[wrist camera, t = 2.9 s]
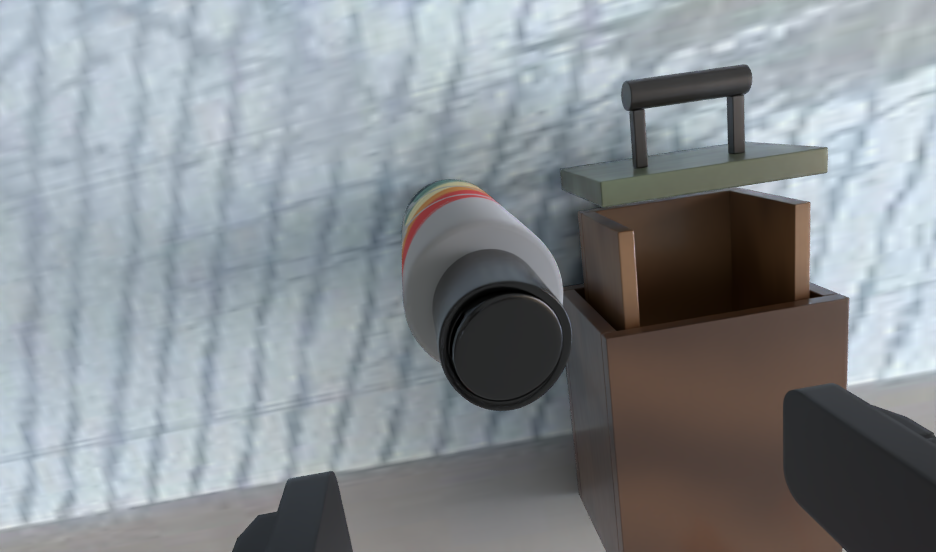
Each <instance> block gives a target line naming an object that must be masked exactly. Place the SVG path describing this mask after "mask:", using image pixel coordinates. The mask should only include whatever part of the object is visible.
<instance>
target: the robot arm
mask: <svg viewBox="0 0 936 552" xmlns="http://www.w3.org/2000/svg"><path fill="white" fill-rule="evenodd" d="M783 471H784V476H785V480H786V483H787V486H788V488H789V491H790V492H791V494H792V496H793V498H794V499H795V501H796V502H797V503H798V504H799V505H800V507H802V508H803V509H804V510H805V511H806V512H807V513H808V514H809V515H810V516H811V517H812V518H813V519H814V520H815V521H816V522H817V523H818V524H819V525H820V526H821V527H822V528H823V529H824V530H825V531H826V532H827V533H828V534H829V535H830V536H831V537H832V538H833V539H834V540H835V541H836V542H838V543H839V544H840V545H841V546H842V547H843V548H844V549H845V550H846V551H847V552H936V437H935V436H934V433H933V432H931V431H929V430H928V429H926V428H924V427H923V426H921V425H919V424H918V423H916V422H914V421H912V420H911V419H909V418H907V417H905V416H902V415H899V414H896V413H894V412H891V411H888V410H885V409H882V408H879V407H876V406H873V405H870V404H869V403H867V402H865V401H864V400H862V399H860V398H859V397H857V396H856V395H854V394H852V393H851V392H849V391H847V390H846V389H844V388H842V387H841V386H839V385H837V384H834V383H828V384H822V385H817V386H811V387H806V388H800V389H794V390H790V391H788V392H787V393H786V395H785V397H784V401H783ZM232 552H353V550H352V545H351V541H350V536H349V532H348V527H347V523H346V518H345V513H344V509H343V504H342V500H341V495H340V491H339V486H338V482H337V478H336V476H335V474H334V472H333V471H329V472H324V473H318V474H313V475H307V476H301V477H296V478H290V479H288V481H287V483H286V486H285V489H284V492H283V495H282V498H281V501H280V504H279V508H278V511H277V512H274V513H268V514H263V515H258V516H257V517H256V518H255V520H254V521H253V522H252V523H251V524H250V525H249V526H248V527H247V528H246V529H245V531H244V532H243V533H242V534H241V535H240V536H239V537H238V538H237V541H236V543H235V546H234V548H233V551H232Z"/></svg>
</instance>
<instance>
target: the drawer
mask: <svg viewBox="0 0 936 552" xmlns="http://www.w3.org/2000/svg"><path fill="white" fill-rule="evenodd" d="M751 85H752V73H751V70H750V68H749V67H748V66H747V65H737V66H730V67H722V68H715V69H708V70H701V71H694V72H687V73H679V74H672V75H665V76H658V77H651V78H644V79H637V80H629V81H625V82H624V83H623V85H622V91H621V97H622V103H623V106H624V108H625V110H627V111H630V112H629V113H630V129H631V144H632V158H631V159H624V160H617V161H610V162H604V163H597V164H590V165H584V166H577V167H570V168H563V169H560V174H561V184H562V190H564V191H567V192H569V193H571V194H573V195H576V196H578V197H580V198H583V199H585V200H587V201H590V202H592V203H594V204H596V205H599V206H601V207H603V208H597V209H590V210H584V211H579V212H578V222H579V234H580V245H581V256H582V267H583V278H584V289H585V301H586V302H587V303H588V304H589V305H590V306H591V307H592V308H593V309H594V310H595V311H596V312H597V313H598V314H600V315H601V316H602V317H603V318H604V319H605V320H606V321H607V322H608V323H609V324H610V325H611V326H612V327H613V328H614V329H615V330H616V331H621V330H627V329H633V328H639V327H644V326H650V325H656V324H662V323H668V322H674V321H680V320H686V319H692V318H698V317H704V316H710V315H716V314H722V313H727V312H733V311H739V310H745V309H751V308H757V307H763V306H769V305H775V304H781V303H787V302H793V301H799V300H804V299H809V291H810V202H806V201H801V200H796V199H791V198H787V197H782V196H777V195H772V194H767V193H762V192H757V191H752V190H747V189H741V188H737V187H739V186H745V185H752V184H758V183H765V182H771V181H778V180H784V179H791V178H797V177H804V176H810V175H817V174H823V173H827V168H828V148H827V147H815V146H800V145H785V144H770V143H755V142H745V124H744V95H743V94H746V93H748V92H749V90H750V88H751ZM722 97H727V122H728V144H725V145H718V146H711V147H704V148H698V149H691V150H684V151H678V152H671V153H664V154H657V155H651V156H647V139H646V122H645V110H644V109H645V108H652V107H659V106H666V105H673V104H680V103H687V102H694V101H701V100H708V99H715V98H722ZM732 187H733V188H732ZM726 188H727V189H726ZM719 189H720V190H719ZM713 190H714V191H713ZM706 191H707V192H706ZM700 192H701V193H700ZM693 193H694V194H693ZM687 194H688V195H687ZM680 195H681V196H680ZM674 196H675V197H674ZM667 197H668V198H667ZM661 198H662V199H661ZM654 199H655V200H654ZM648 200H649V201H648ZM641 201H642V202H641ZM635 202H636V203H635ZM628 203H629V204H628ZM622 204H623V205H622ZM615 205H616V206H615ZM609 206H610V207H609Z"/></svg>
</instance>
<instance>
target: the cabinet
mask: <svg viewBox="0 0 936 552" xmlns="http://www.w3.org/2000/svg"><path fill="white" fill-rule="evenodd" d="M849 301H850V299H849V298H848V297H846V296H843V295H841V294H837V293H835V292H833V291H830V290H828V289H825V288H823V287H820V286H818V285H815V284H813V283H810V291H809V299H804V300H799V301H793V302H787V303H781V304H775V305H769V306H763V307H757V308H751V309H745V310H739V311H733V312H727V313H722V314H716V315H710V316H704V317H698V318H692V319H686V320H680V321H674V322H668V323H662V324H656V325H650V326H644V327H639V328H633V329H627V330H621V331H616V330H615V329H614V328H613V327H612V326H611V325H610V324H609V323H608V322H607V321H606V320H605V319H604V318H603V317H602V316H601V315H600V314H598V313H597V312H596V311H595V310H594V309H593V308H592V307H591V306H590V305H589V304H588V303H587V302H586V301H585V289H584V284H578V285H572V286H566V287H563V304H562V306H563V307H564V309H565V310H566V312H567V314H568V317H569V320H570V323H571V329H572V344H571V350H570V355H569V358H568V361H567V363H566V371H567V381H568V391H569V401H570V411H571V421H572V431H573V441H574V450H575V460H576V470H577V480H578V490H579V495H580V497H581V499H582V502H583V504H584V506H585V508H586V510H587V512H588V514H589V516H590V518H591V521H592V523H593V525H594V527H595V529H596V531H597V533H598V535H599V537H600V539H601V542H602V544H603V546H604V548H605V550H606V552H842V546H841V545H840V544H839V543H838V542H836V541H835V540H834V539H833V538H832V537H831V536H830V535H829V534H828V533H827V532H826V531H825V530H824V529H823V528H822V527H821V526H820V525H819V524H818V523H817V522H816V521H815V520H814V519H813V518H812V517H811V516H810V515H809V514H808V513H807V512H806V511H805V510H804V509H803V508H802V507H800V505H799V504H798V503H797V502H796V501H795V499H794V498H793V496H792V494H791V492H790V491H789V488H788V486H787V483H786V480H785V476H784V471H783V401H784V397H785V395H786V393H787V392H788V391H790V390H794V389H800V388H806V387H811V386H817V385H822V384H828V383H834V384H837V385H839V386H841V387H842V388H844V389H846V390H847V371H848V336H849Z"/></svg>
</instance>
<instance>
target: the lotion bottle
mask: <svg viewBox="0 0 936 552" xmlns="http://www.w3.org/2000/svg"><path fill="white" fill-rule="evenodd" d="M402 289H403V304H404V310H405V316H406V319H407V322H408V325H409V327H410V330H411V332H412V334H413V335H414V337H415V339H416V340H417V342H418V343H419V344H420V346H421V347H422V348H423V349H424V350H425V351H426V352H427V353H428V354H429V355H430V356H431V357H433V358H434V359H435V360H436V361H438V362H440V363H441V365H442V368H443V371H444V373H445V375H446V377H447V379H448V380H449V382H450V384H451V385H452V386H453V387H454V389H455V390H456V391H457V392H458V393H459V394H460V395H461V396H462V397H464V398H465V399H466V400H468V401H469V402H471V403H473V404H474V405H477V406H479V407H481V408H485V409H488V410H494V411H507V410H514V409H517V408H521V407H523V406H526V405H528V404H530V403H532V402H534V401H535V400H537V399H538V398H540V397H541V396H542V395H543V394H545V393H546V392H547V391H548V390H549V389H550V388H551V387H552V386H553V384H554V383H555V382H556V381H557V379H558V378H559V376H560V375H561V373H562V371H563V370H564V368H565V366H566V363H567V361H568V358H569V355H570V350H571V344H572V329H571V323H570V320H569V317H568V314H567V312H566V310H565V309H564V307H563V306H562V304H563V285H562V279H561V275H560V271H559V268H558V265H557V263H556V261H555V259H554V257H553V255H552V254H551V252H550V251H549V249H548V248H547V247H546V245H545V244H544V243H543V242H542V241H541V240H540V239H539V238H538V237H537V236H536V235H535V234H534V233H533V232H532V231H531V230H529V229H528V228H527V227H526V226H525V225H524V224H523V223H521V222H520V221H519V220H518V219H517V218H515V217H514V216H513V215H512V214H511V213H510V212H508V211H507V210H506V209H505V208H504V207H502V206H501V205H500V204H499V203H498V202H496V201H495V200H494V199H493V198H492V197H491V196H489V195H488V194H487V193H486V192H484V191H483V190H482V189H480V188H479V187H477V186H475V185H473V184H471V183H469V182H466V181H462V180H455V179H448V180H441V181H437V182H434V183H431V184H429V185H427V186H426V187H424V188H423V189H421V190H420V191H419V192H418V193H417V194H416V195H415V196H414V197H413V198H412V200H411V201H410V203H409V204H408V206H407V208H406V210H405V213H404V216H403V221H402Z"/></svg>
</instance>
